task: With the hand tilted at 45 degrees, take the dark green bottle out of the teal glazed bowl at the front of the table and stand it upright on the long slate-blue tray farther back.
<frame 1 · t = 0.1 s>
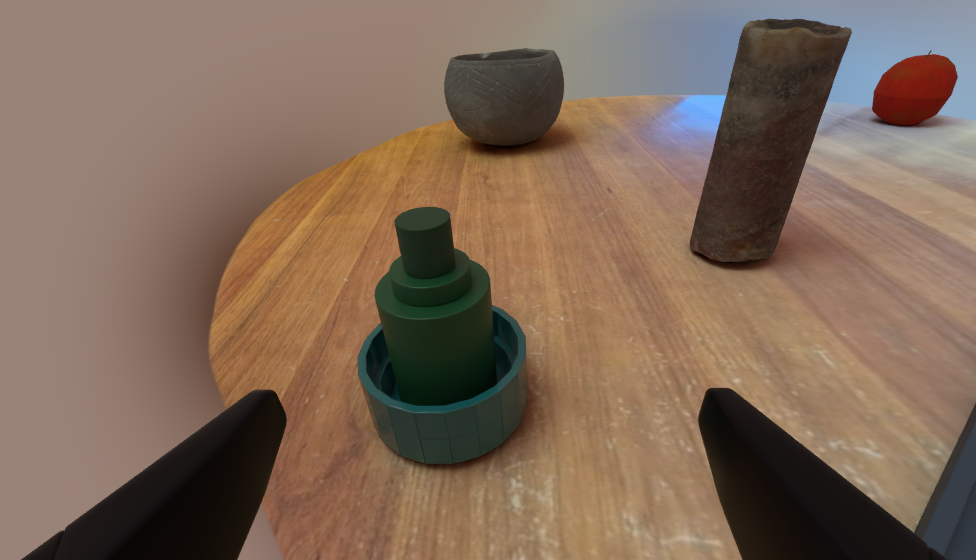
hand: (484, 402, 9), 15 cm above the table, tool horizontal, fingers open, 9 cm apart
bottle: (450, 395, 29), point 1 cm above the table, touching glazed bowl
bowl: (505, 143, 82), on the table
apple: (898, 123, 77), on the table
glazed bowl: (451, 401, 29), on the table
brown textured cylinder: (729, 254, 43), on the table
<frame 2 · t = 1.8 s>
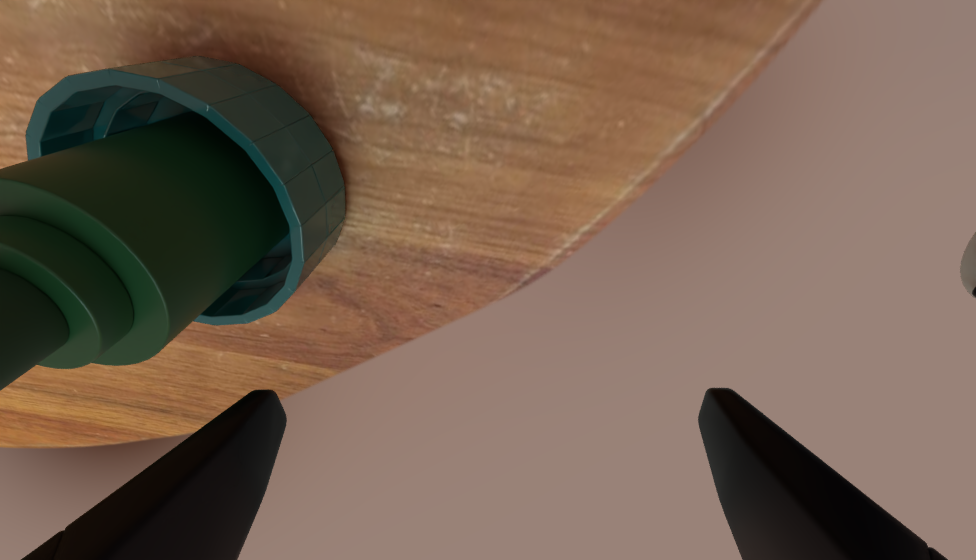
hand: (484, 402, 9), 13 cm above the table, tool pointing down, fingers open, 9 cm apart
bottle: (237, 180, 20), point 1 cm above the table, touching glazed bowl
glazed bowl: (245, 175, 21), on the table
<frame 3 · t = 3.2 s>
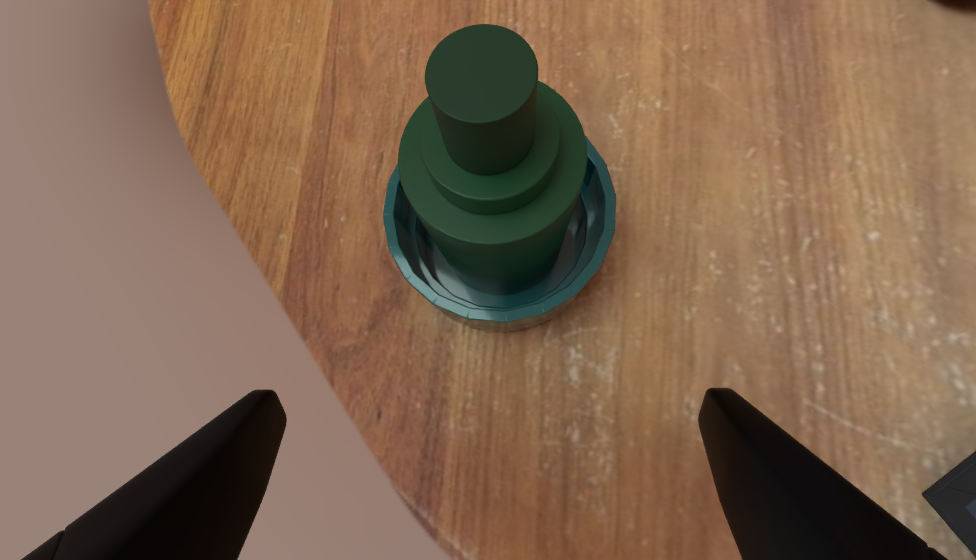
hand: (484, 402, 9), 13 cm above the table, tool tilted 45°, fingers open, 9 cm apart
bottle: (501, 236, 23), point 1 cm above the table, touching glazed bowl
glazed bowl: (502, 240, 24), on the table
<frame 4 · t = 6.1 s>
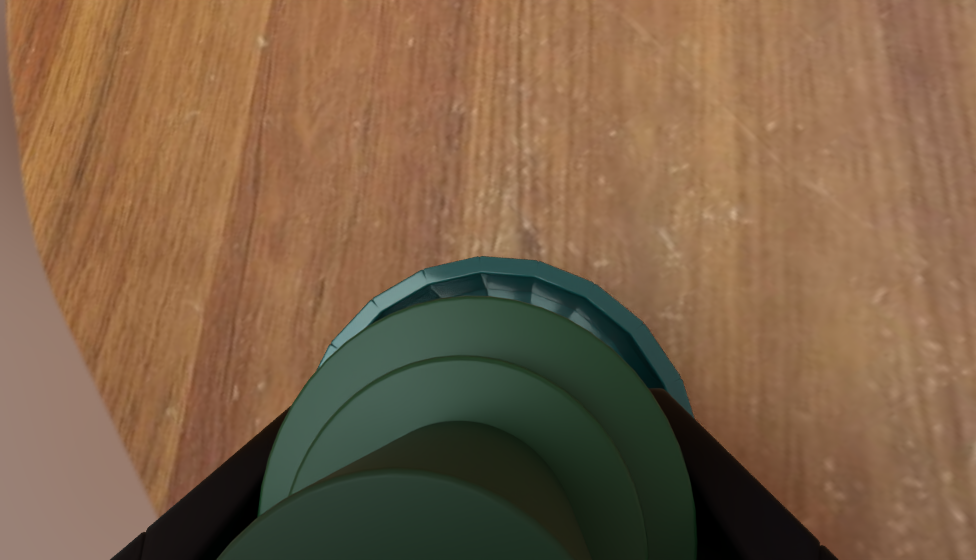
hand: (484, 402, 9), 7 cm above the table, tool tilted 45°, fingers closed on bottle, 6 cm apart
bottle: (498, 432, 15), point 1 cm above the table, touching glazed bowl, gripper
glazed bowl: (499, 430, 16), on the table
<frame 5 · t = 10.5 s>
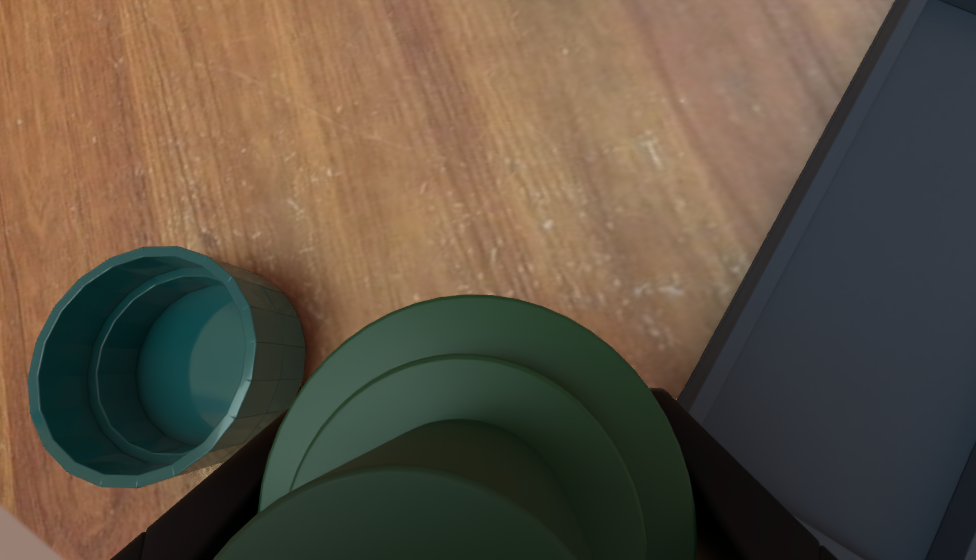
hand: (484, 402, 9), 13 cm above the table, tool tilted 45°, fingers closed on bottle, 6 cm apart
bottle: (498, 431, 15), point 7 cm above the table, touching gripper
glazed bowl: (219, 362, 23), on the table
tray: (907, 253, 22), on the table
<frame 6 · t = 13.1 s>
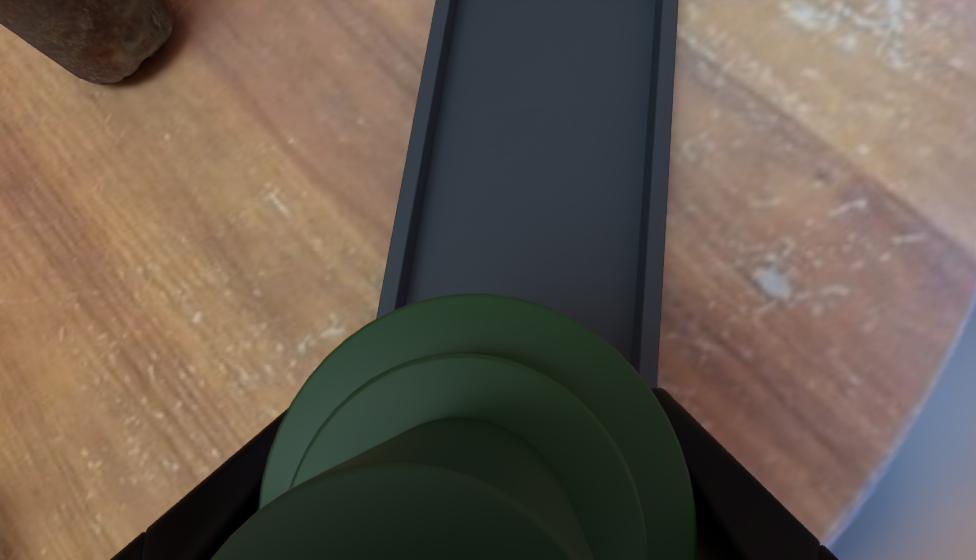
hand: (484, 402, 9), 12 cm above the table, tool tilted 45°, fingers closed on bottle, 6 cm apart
bottle: (498, 431, 15), point 5 cm above the table, touching gripper
tray: (530, 204, 22), on the table
brown textured cylinder: (134, 40, 27), on the table
when the fingers open (7 cm above the table, at t = 15.0 s): bottle stays where it is, resting on tray.
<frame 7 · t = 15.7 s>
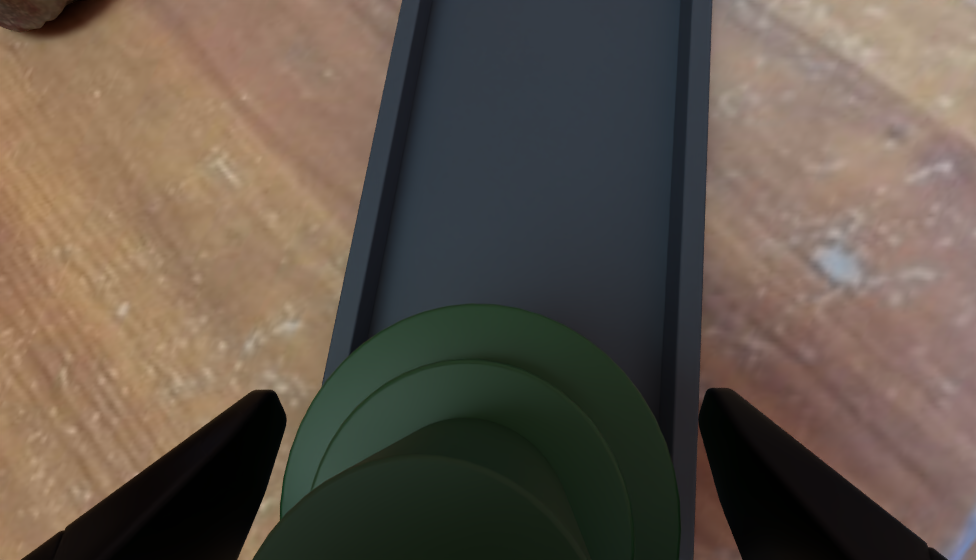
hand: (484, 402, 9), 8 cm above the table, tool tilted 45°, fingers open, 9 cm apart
bottle: (499, 430, 16), resting on tray
tray: (532, 170, 18), on the table
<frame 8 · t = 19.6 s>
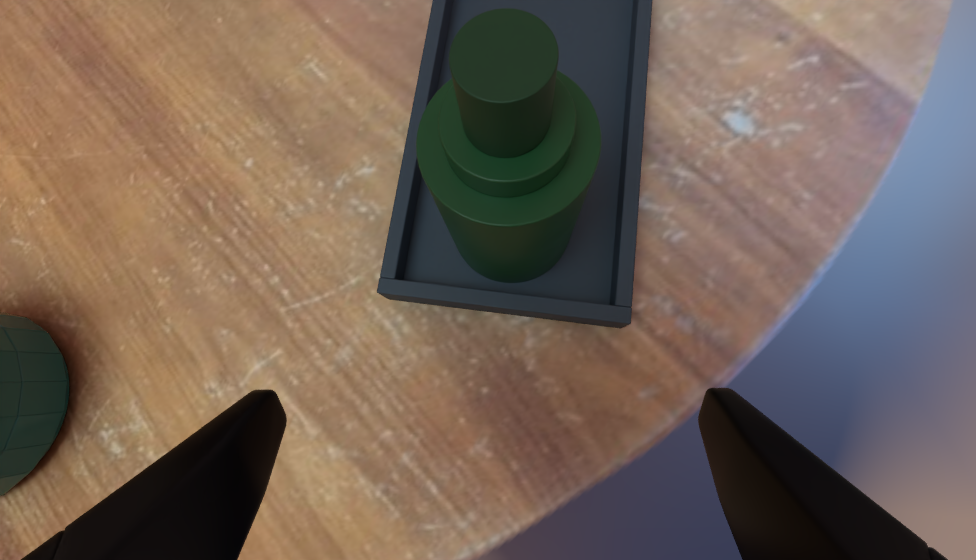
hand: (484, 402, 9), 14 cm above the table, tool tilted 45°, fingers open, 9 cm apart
bottle: (511, 226, 24), resting on tray
tray: (533, 65, 26), on the table
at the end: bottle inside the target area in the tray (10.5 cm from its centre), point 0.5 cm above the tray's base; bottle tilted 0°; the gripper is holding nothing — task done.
